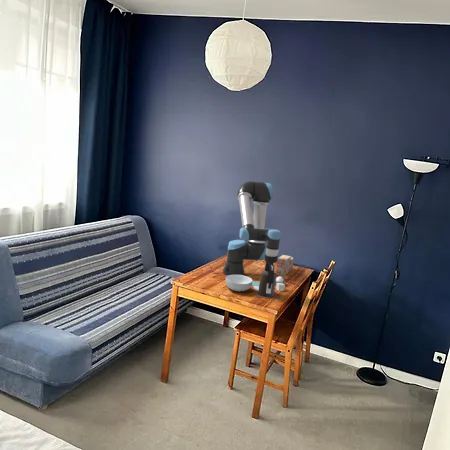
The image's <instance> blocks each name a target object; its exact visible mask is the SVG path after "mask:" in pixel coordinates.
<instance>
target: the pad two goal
mask: <svg viewBox="0 0 450 450" xmlns="http://www.w3.org/2000/svg"><path fill="white" fill-rule="evenodd" d="M259 283H260V281H256V280H252V286H251V287H253V286H259Z"/></svg>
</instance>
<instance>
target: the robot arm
mask: <svg viewBox="0 0 450 450" xmlns="http://www.w3.org/2000/svg"><path fill="white" fill-rule="evenodd" d="M273 188H274V187H273V186H272V184H271V183H270V182H269V183H268V182H260V181H253V180H251V181H248V180H247V181H245V182H244V183H242V184H241V185H240V186H239V188H238V189H237V192H236V194H237V195H236V197H237V198H236V199H237V201H238V202H239V210H240V218H241V226H242V227H241V228H240V229H239V239H234V240H230V241H229V242H228V246H227V252H226V254H227V255H226V262H225V264H224V266H223V269H222V274H224V275H226V276H228V275H243V276H245V267H244V260H247V261H248V260H249V261H257V262H259V261H263V260H264V261H265V265H264V270H263V271H267V272H268V275H269V276H268V282H267V289H266V293H270V294H271V288H272V283H273V279H274V273H275V268H276V267H275V265H274V264H275V263H277V262H278V255H279V252H280V250H279V248H280V243H281V242H280V241H281V231H280V230H279V229H274V228H273V229H272V228H267V227H266V228H265V226H266V225H265V224H266V216H267V206H268V205H269V204H270V201H273V199H274V189H273ZM252 202H253V204H254V205H253V206H254V207H253V208H252Z"/></svg>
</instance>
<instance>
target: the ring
mask: <svg viewBox="0 0 450 450" xmlns="http://www.w3.org/2000/svg"><path fill="white" fill-rule="evenodd" d="M255 290H256V289H254V288H253V291H254V293H255V294H256V297H257V298H259V299H260V298H261V299H271V297H264V296H259V294H258V292H257V291H255ZM274 295H275V296H276V297H272V299H277V300H279V299H280V298H279V296H278V295H277V292H276V291H275V290H274Z"/></svg>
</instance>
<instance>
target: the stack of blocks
mask: <svg viewBox="0 0 450 450" xmlns="http://www.w3.org/2000/svg"><path fill="white" fill-rule="evenodd" d="M294 258H295V257H293V256H292V255H285V254H282V255H281V256H279V257H277V262H276V263H277V264H276V269H275V273H276V274H277V275H278V276H281V277H284V276H286V275H287V274H288V273H289V272H291V271H292V270H293V267H294V260H295V259H294Z"/></svg>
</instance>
